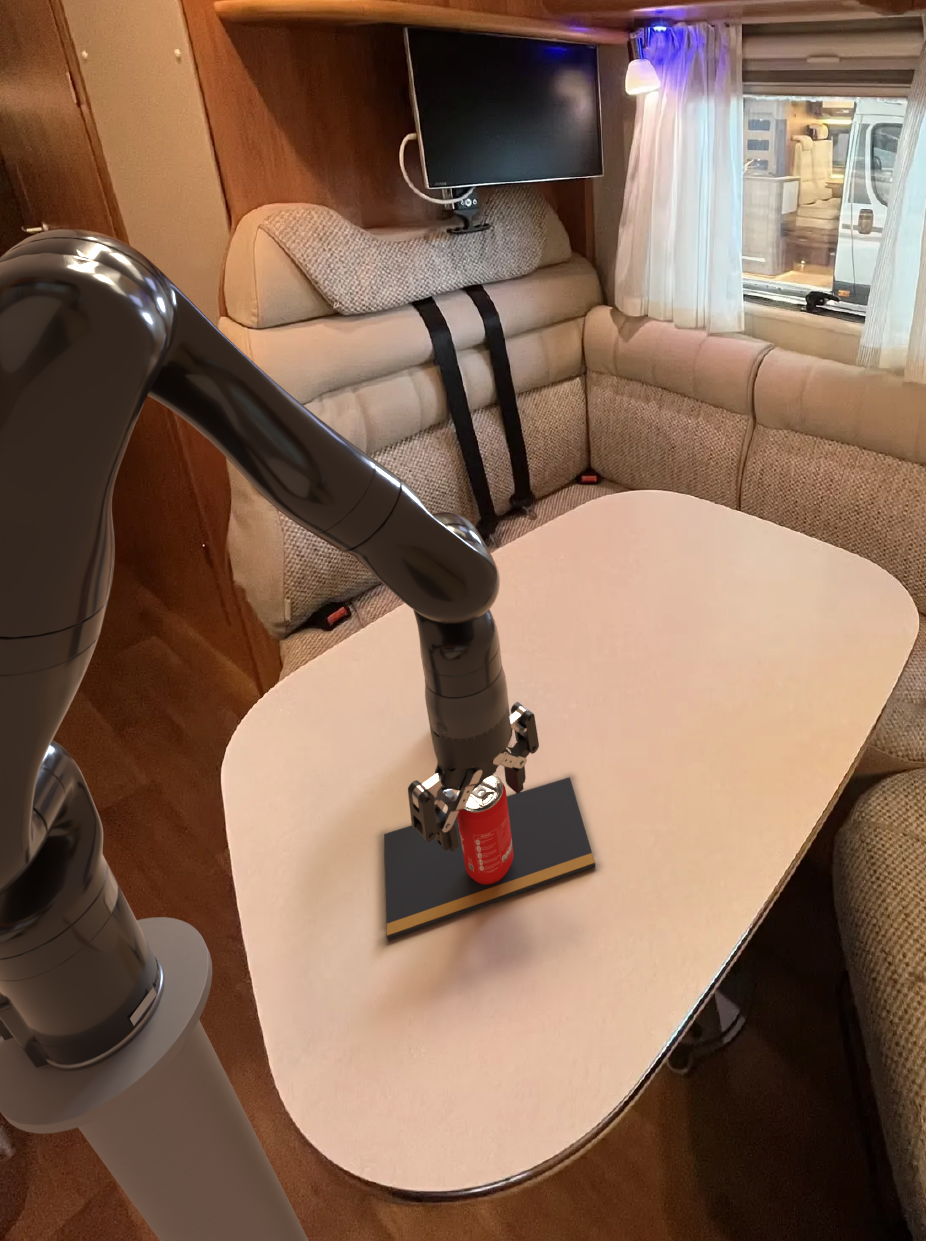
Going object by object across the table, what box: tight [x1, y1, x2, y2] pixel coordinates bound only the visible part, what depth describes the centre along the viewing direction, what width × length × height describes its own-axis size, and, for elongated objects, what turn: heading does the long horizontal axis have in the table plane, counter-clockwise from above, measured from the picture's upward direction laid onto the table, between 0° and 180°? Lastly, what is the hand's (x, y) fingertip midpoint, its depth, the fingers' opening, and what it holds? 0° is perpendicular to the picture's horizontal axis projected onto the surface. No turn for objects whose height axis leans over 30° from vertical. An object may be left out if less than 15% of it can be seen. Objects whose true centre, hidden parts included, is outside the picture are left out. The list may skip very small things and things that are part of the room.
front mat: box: [383, 776, 596, 941], centre depth 83 cm, size 22×12×1 cm, turn 111°
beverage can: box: [456, 773, 513, 885], centre depth 78 cm, size 5×5×12 cm
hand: (483, 814), depth 77 cm, fingers open, 8 cm apart
